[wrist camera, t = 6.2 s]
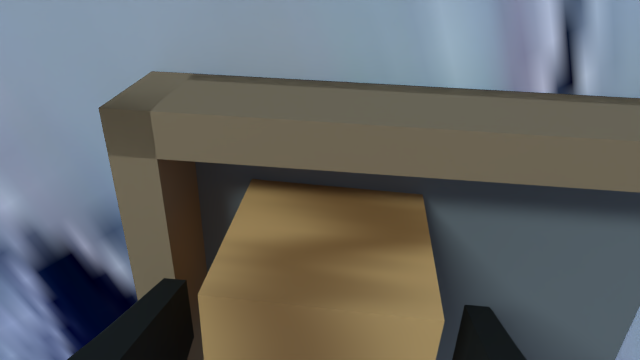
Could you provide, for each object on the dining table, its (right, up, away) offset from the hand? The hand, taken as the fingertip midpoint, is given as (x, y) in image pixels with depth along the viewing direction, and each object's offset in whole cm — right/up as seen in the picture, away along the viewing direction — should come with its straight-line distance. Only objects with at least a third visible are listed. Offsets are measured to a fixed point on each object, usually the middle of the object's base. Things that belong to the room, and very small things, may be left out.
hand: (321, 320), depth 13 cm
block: (0, +1, +3) cm, 3 cm away
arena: (+2, 0, +4) cm, 5 cm away
